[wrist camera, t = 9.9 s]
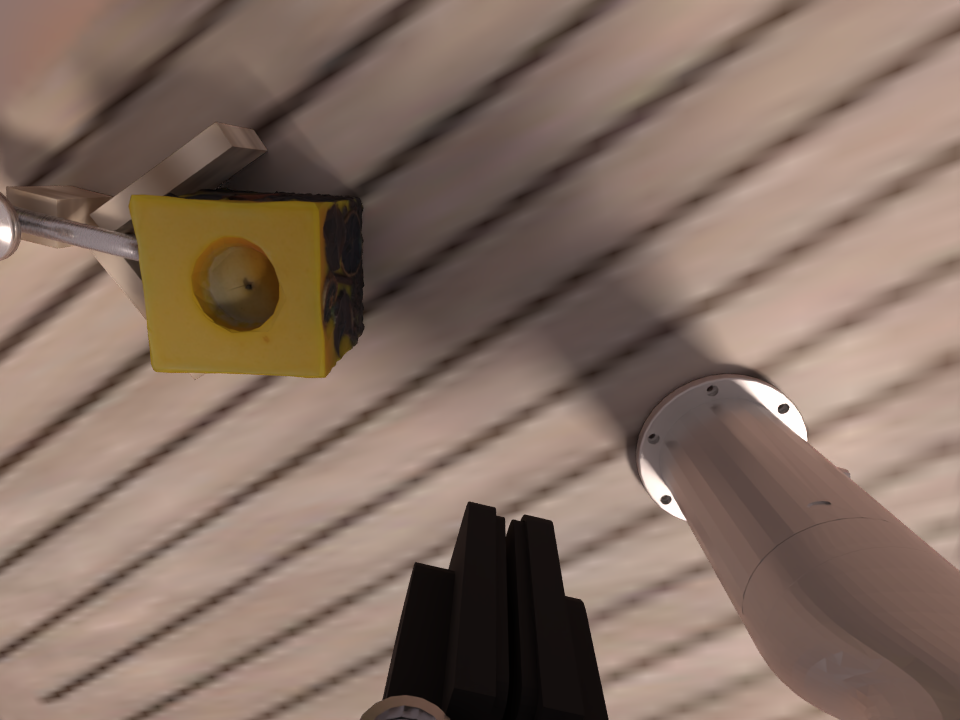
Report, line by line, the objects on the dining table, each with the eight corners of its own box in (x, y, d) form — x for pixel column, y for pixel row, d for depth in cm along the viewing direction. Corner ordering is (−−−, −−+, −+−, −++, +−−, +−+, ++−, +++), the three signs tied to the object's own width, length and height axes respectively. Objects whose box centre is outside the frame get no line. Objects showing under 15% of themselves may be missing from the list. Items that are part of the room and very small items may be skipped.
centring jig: (269, 133, 35) (234, 126, 30) (244, 359, 40) (210, 383, 36) (69, 80, 34) (1, 65, 30) (70, 317, 40) (12, 336, 35)
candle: (231, 329, 40) (148, 376, 30) (216, 187, 36) (117, 190, 27) (367, 337, 40) (326, 386, 30) (364, 195, 36) (317, 200, 27)
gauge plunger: (178, 219, 32) (138, 224, 28) (173, 289, 33) (134, 303, 30) (-14, 170, 31) (-80, 169, 28) (-11, 244, 33) (-73, 252, 29)
